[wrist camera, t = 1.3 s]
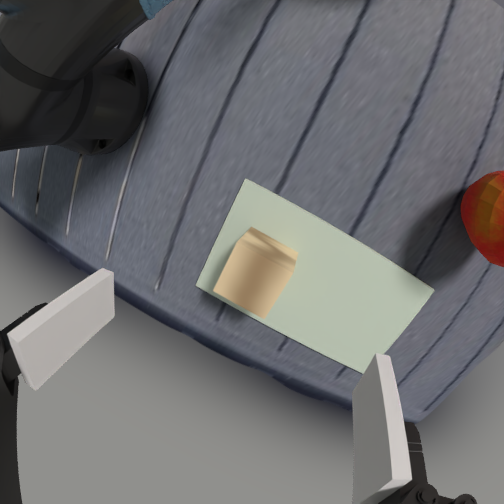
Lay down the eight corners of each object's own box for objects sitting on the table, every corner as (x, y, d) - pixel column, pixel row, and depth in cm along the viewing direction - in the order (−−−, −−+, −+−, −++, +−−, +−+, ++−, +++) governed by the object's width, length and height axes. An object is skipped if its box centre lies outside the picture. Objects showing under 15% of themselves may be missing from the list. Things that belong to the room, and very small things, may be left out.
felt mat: (196, 284, 38) (195, 285, 38) (246, 178, 32) (245, 178, 32) (364, 372, 37) (364, 374, 37) (433, 288, 31) (434, 290, 31)
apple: (471, 150, 25) (532, 154, 14) (514, 198, 25) (573, 222, 14) (431, 213, 29) (480, 245, 18) (477, 257, 29) (527, 301, 17)
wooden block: (229, 269, 36) (212, 290, 30) (251, 226, 34) (236, 241, 28) (273, 293, 36) (264, 319, 30) (298, 252, 33) (293, 273, 28)
